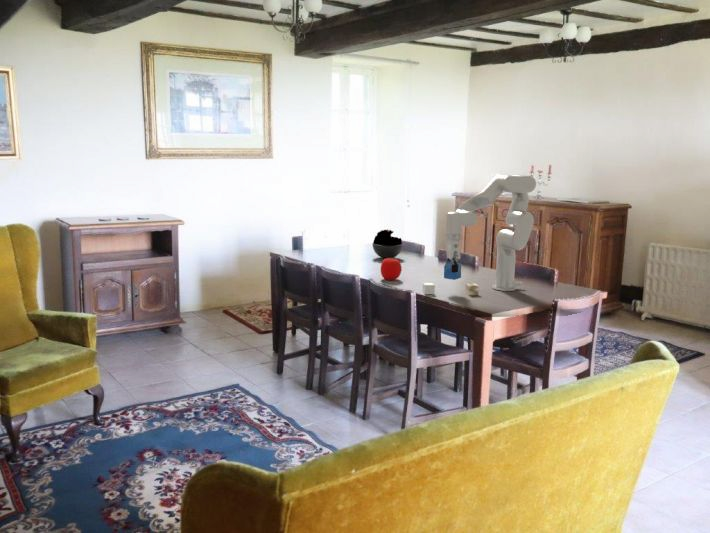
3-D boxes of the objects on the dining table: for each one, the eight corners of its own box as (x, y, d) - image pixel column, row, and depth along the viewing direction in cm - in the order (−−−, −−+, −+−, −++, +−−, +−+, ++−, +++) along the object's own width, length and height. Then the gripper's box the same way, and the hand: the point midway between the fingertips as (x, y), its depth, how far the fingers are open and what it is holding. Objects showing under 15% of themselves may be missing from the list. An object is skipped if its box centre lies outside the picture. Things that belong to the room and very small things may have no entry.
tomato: (383, 276, 362) (384, 254, 360) (403, 278, 358) (404, 256, 356) (377, 281, 351) (377, 258, 348) (397, 282, 347) (398, 260, 344)
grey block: (432, 292, 327) (432, 282, 326) (434, 294, 322) (434, 285, 321) (422, 292, 326) (423, 282, 325) (424, 294, 321) (425, 285, 320)
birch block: (475, 292, 327) (475, 283, 326) (478, 295, 322) (478, 285, 321) (465, 293, 327) (466, 283, 326) (468, 295, 322) (468, 285, 321)
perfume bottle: (450, 276, 327) (451, 253, 325) (461, 277, 323) (461, 254, 321) (443, 278, 323) (444, 254, 320) (454, 279, 319) (455, 256, 316)
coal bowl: (389, 255, 433) (390, 227, 429) (408, 259, 417) (409, 231, 413) (366, 257, 421) (366, 229, 418) (384, 262, 405) (385, 233, 402)
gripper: (465, 239, 311) (464, 273, 314) (455, 233, 328) (454, 266, 331) (450, 239, 310) (449, 274, 313) (441, 234, 327) (440, 267, 330)
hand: (452, 270), depth 322 cm, fingers closed on perfume bottle, 9 cm apart
